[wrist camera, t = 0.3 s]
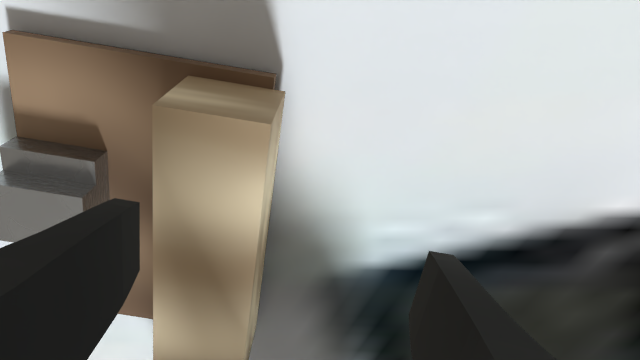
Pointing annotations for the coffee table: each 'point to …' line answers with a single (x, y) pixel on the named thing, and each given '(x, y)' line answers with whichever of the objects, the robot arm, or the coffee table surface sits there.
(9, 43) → the board
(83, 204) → the gray stepped block
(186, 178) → the beech bar
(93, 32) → the coffee table surface
